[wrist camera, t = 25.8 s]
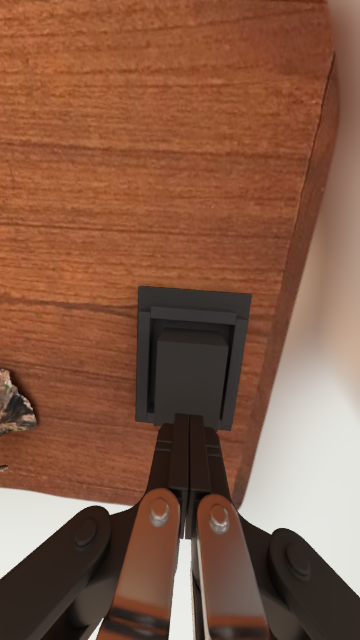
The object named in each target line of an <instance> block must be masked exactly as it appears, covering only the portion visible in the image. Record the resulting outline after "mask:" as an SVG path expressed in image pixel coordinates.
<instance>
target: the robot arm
mask: <svg viewBox="0 0 360 640" xmlns="http://www.w3.org/2000/svg"><path fill="white" fill-rule="evenodd" d="M184 527H185V539H191V553H192V554H191V555H192V561H191V569H190V580H191V600H192V617H193V636H194V637H193V638H194V640H360V597H359V596H358V595H357V594H356V593H355V592H354V591H353V590H352V589H351V588H350V587H349V586H348V585H347V584H346V583H345V582H344V581H343V580H342V578H341V577H340V576H339V575H338V574H336V572H335V571H334V570H333V569H332V568H331V567H330V566H329V565H328V564H327V563H326V562H325V561H324V560H323V559H322V557H320V555H319V554H318V553H317V552H316V551H315V550H314V549H313V548H312V547H311V546H310V545H309V544H308V543H307V542H306V541H305V540H304V539H303V538H302V537H301V536H299V535H298V534H297V533H295V532H294V531H291V530H289V529H286V528H279V529H276V530H275V531H274V532H273V533H272V535H271V534H269V533H267V532H265V531H263V530H261V529H260V528H258V527H256V526H254V525H252V524H250V523H249V522H248V521H246V520H245V519H244V518H243V517H242V516H241V515H240V514H239V512H238V511H237V510H236V508H235V506H234V504H233V502H232V500H231V497H230V493H229V488H228V482H227V477H226V472H225V467H224V462H223V458H222V452H221V448H220V442H219V436H218V435H217V433H216V432H215V430H214V429H213V428H212V427H204V419H203V415H192V414H189V422H188V414H181V413H175V419H174V424H170V423H164V424H163V425H162V427H161V428H160V429H159V431H158V436H157V442H156V446H155V451H154V456H153V461H152V466H151V471H150V476H149V481H148V486H147V489H146V492H145V494H144V495H143V497H142V498H141V500H140V501H139V502H138V503H137V504H136V505H135V506H133V507H132V508H130V509H128V510H125V511H122V512H119V513H116V514H113V515H109V512H108V511H107V510H106V509H105V508H104V507H101V506H90V507H87V508H85V509H83V510H81V511H80V512H79V513H77V514H76V515H75V516H74V517H73V518H71V519H70V520H69V521H68V522H67V523H66V524H65V525H63V526H62V527H61V528H60V529H59V530H57V531H56V532H55V533H54V534H53V535H52V536H50V537H49V538H48V539H47V540H46V541H45V542H43V543H42V544H41V545H40V546H39V547H38V548H36V549H35V550H34V551H33V552H32V553H30V554H29V555H28V556H27V557H26V558H25V559H23V560H22V561H21V562H20V563H19V564H18V565H17V566H15V567H14V568H13V569H12V570H11V571H9V572H8V573H7V574H6V575H5V576H4V577H2V578H1V579H0V640H88V638H89V637H90V636H91V634H92V633H93V631H94V630H95V629H96V627H97V626H98V624H99V623H100V621H101V620H102V618H104V619H103V622H102V624H101V626H100V629H99V632H98V635H97V638H96V640H168V638H169V628H170V617H171V607H172V596H173V586H174V585H173V584H174V576H175V573H176V570H177V564H178V553H179V543H180V539H183V537H184Z"/></svg>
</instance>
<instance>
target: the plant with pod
mask: <svg viewBox="0 0 360 640" xmlns="http://www.w3.org/2000/svg"><path fill="white" fill-rule="evenodd" d="M9 379H10V376H9V371H7V370H4V369H1V368H0V436H1V434H3V433H8V432H13V431H16V430H17V431H21V430H23V431H24V430H25V428H26V429H30V430H31V429H33V428H35V427H36V425H37V424H36V423H37V420H35V419H36V418H34V417H35V415H34V413H33V411H32V410H33V408H31V407H30V403H29V400H27V399H26V398H25V397H24V396H22V395H20V394H18V389H17V387H15V386H13V385H12V384H11V380H9ZM3 435H4V434H3ZM7 468H8V465H2V466H0V472H2V471H4V470H5V469H7Z"/></svg>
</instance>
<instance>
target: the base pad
mask: <svg viewBox="0 0 360 640" xmlns="http://www.w3.org/2000/svg"><path fill="white" fill-rule="evenodd" d="M251 297H252V295H251V294H245V293H231V292H218V291H204V290H191V289H177V288H164V287H150V286H139V287H138V323H137V369H136V414H135V421H137V422H147V423H154V405H155V382H156V359H157V341H158V339H159V337H160V335H161V334H162V332H163V330H164V328H165V327H170V328H183V329H196V330H208V331H219V332H220V334H221V335H222V337H223V339H224V340H225V342H226V343H227V345H228V347H229V348H228V356H227V364H226V371H225V379H224V386H223V394H222V401H221V409H220V416H219V424H218V430H227V431H231V427H232V423H233V417H234V410H235V404H236V397H237V391H238V384H239V378H240V372H241V365H242V359H243V352H244V346H245V339H246V333H247V326H248V317H249V310H250V304H251Z"/></svg>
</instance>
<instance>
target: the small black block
mask: <svg viewBox="0 0 360 640" xmlns="http://www.w3.org/2000/svg"><path fill="white" fill-rule="evenodd" d="M228 348H229V347H228V345H227V343H226V342H225V340H224V339H223V337H222V335H221V334H220V332H219V331H208V330H196V329H183V328H170V327H165V328H164V330H163V332H162V334H161V335H160V337H159V339H158V341H157V359H156V382H155V405H154V426H162V425H163V424H164V423H170V424H174V419H175V413H181V414H188V422H189V414H192V415H203V419H204V427H212V428H213V429H214V430H215V432H217V431H218V424H219V416H220V409H221V401H222V394H223V386H224V379H225V371H226V364H227V356H228Z"/></svg>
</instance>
